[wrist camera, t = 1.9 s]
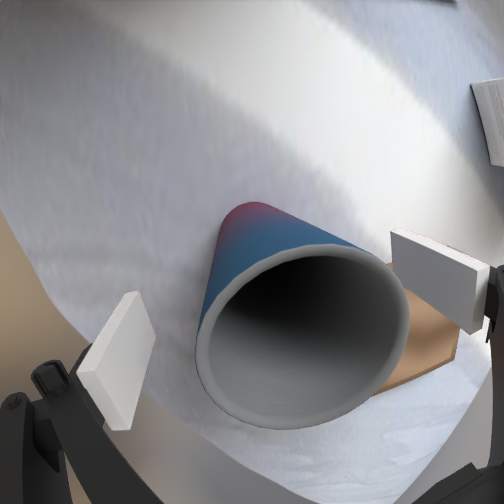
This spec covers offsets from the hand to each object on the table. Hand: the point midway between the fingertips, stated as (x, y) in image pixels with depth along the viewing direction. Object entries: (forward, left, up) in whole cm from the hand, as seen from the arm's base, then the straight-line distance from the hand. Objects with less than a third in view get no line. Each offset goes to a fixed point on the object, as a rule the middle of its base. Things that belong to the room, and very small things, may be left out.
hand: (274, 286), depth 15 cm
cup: (0, 0, -9) cm, 9 cm away
